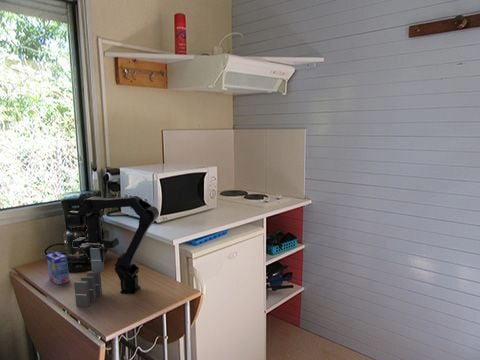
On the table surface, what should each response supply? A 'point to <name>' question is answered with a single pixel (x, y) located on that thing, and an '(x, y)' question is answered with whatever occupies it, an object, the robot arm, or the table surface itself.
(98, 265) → the domino
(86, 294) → the domino
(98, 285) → the domino
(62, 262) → the ink cartridge box
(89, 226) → the robot arm
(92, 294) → the domino
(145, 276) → the table surface
